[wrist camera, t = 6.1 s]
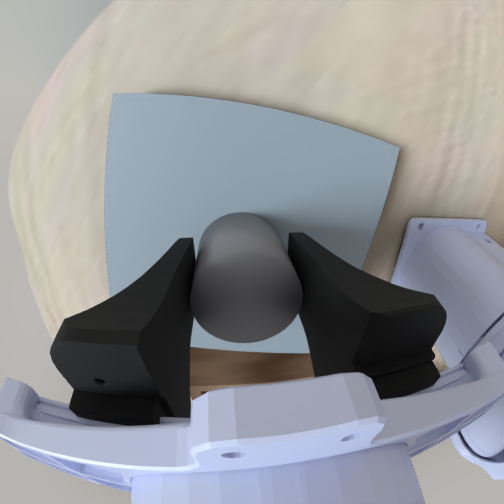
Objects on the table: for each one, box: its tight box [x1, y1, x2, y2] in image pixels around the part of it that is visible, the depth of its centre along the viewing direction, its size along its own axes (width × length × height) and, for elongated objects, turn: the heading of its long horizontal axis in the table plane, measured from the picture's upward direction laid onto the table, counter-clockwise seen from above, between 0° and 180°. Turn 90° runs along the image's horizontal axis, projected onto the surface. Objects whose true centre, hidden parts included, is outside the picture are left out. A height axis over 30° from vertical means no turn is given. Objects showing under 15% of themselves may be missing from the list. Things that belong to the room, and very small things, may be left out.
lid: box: [104, 93, 400, 353], centre depth 12 cm, size 14×14×6 cm
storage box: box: [190, 347, 315, 400], centre depth 22 cm, size 12×12×4 cm
